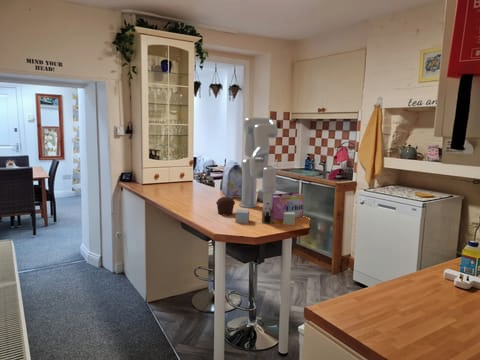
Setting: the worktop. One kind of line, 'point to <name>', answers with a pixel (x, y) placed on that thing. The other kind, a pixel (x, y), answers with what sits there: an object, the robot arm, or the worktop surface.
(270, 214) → the walnut block
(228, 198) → the muffin
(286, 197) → the gum box
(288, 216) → the sage block
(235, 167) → the lunch bag
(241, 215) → the base block
